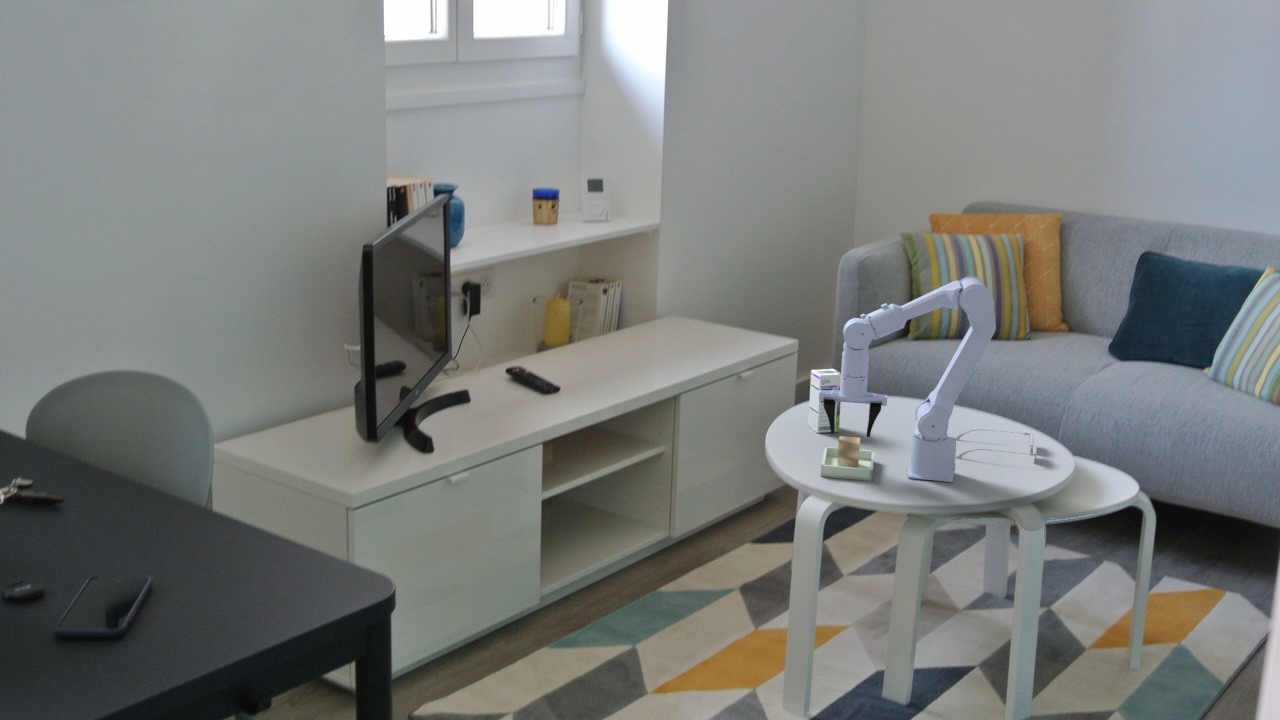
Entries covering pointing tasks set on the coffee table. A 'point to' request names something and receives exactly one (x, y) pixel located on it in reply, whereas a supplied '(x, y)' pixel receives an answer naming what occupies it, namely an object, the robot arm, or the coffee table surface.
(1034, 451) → the eyeglasses
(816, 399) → the syrup box
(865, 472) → the serving tray
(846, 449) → the maple block
